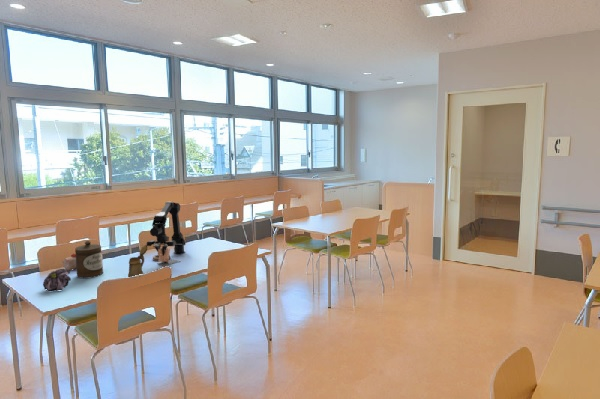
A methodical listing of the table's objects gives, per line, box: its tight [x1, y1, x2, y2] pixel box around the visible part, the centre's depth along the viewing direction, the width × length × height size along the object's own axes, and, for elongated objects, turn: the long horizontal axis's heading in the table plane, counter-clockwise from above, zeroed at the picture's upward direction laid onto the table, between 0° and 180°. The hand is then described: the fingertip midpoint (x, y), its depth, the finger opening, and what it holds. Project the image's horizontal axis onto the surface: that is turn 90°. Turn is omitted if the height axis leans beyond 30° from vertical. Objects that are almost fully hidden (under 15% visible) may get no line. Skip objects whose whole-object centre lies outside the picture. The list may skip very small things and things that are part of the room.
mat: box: [157, 259, 182, 267], centre depth 282 cm, size 13×9×1 cm
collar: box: [152, 254, 171, 262], centre depth 292 cm, size 12×12×2 cm
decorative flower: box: [42, 268, 72, 292], centre depth 232 cm, size 15×12×15 cm
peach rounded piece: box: [157, 247, 171, 263], centre depth 278 cm, size 12×7×9 cm, turn 175°
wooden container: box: [75, 240, 104, 279], centre depth 256 cm, size 15×15×22 cm
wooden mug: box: [127, 244, 148, 278], centre depth 256 cm, size 9×14×18 cm, turn 142°
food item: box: [62, 253, 77, 271], centre depth 271 cm, size 14×8×10 cm, turn 142°
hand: (161, 255), depth 276 cm, fingers closed on peach rounded piece
